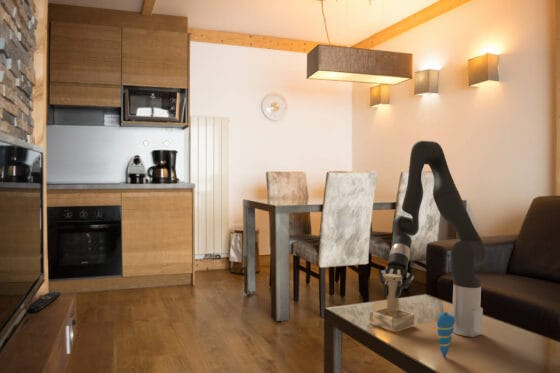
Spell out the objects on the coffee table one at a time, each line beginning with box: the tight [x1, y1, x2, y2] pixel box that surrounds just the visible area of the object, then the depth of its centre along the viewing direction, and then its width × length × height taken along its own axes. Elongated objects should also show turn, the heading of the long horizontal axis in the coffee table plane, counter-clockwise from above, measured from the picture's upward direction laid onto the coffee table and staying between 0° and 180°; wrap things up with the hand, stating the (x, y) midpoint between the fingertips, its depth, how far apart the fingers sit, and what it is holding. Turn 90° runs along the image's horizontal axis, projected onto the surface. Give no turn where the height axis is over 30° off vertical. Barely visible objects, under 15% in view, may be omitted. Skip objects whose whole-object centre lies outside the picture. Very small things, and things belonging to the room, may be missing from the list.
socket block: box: [369, 306, 415, 333], centre depth 173 cm, size 12×12×5 cm
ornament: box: [436, 309, 455, 358], centre depth 143 cm, size 5×5×15 cm
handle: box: [383, 273, 403, 316], centre depth 173 cm, size 5×6×15 cm
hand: (391, 295), depth 171 cm, fingers closed on handle, 3 cm apart
